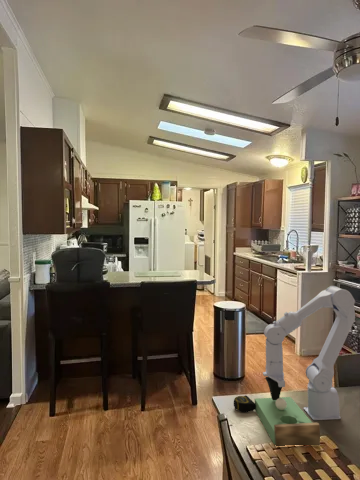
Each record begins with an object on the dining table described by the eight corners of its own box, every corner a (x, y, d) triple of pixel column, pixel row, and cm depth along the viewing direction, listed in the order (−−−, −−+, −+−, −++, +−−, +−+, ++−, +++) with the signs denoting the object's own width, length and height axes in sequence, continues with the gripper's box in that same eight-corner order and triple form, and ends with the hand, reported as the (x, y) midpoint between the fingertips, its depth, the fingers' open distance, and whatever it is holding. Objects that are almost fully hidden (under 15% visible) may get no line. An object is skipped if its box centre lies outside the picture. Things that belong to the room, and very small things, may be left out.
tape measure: (256, 413, 116) (256, 402, 116) (238, 415, 115) (238, 404, 115) (248, 404, 123) (247, 393, 123) (230, 406, 121) (230, 396, 121)
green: (290, 408, 119) (290, 396, 119) (320, 445, 97) (319, 431, 97) (254, 409, 118) (254, 398, 118) (276, 447, 96) (275, 433, 96)
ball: (284, 406, 112) (284, 395, 112) (288, 412, 108) (288, 400, 108) (274, 407, 112) (273, 396, 112) (277, 412, 108) (277, 401, 108)
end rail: (318, 443, 98) (317, 422, 98) (320, 445, 97) (319, 424, 97) (274, 445, 97) (274, 424, 97) (276, 447, 96) (275, 426, 96)
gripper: (257, 353, 123) (258, 390, 123) (269, 368, 108) (270, 410, 108) (275, 352, 123) (276, 389, 123) (290, 367, 109) (291, 409, 109)
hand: (275, 399), depth 116 cm, fingers closed
